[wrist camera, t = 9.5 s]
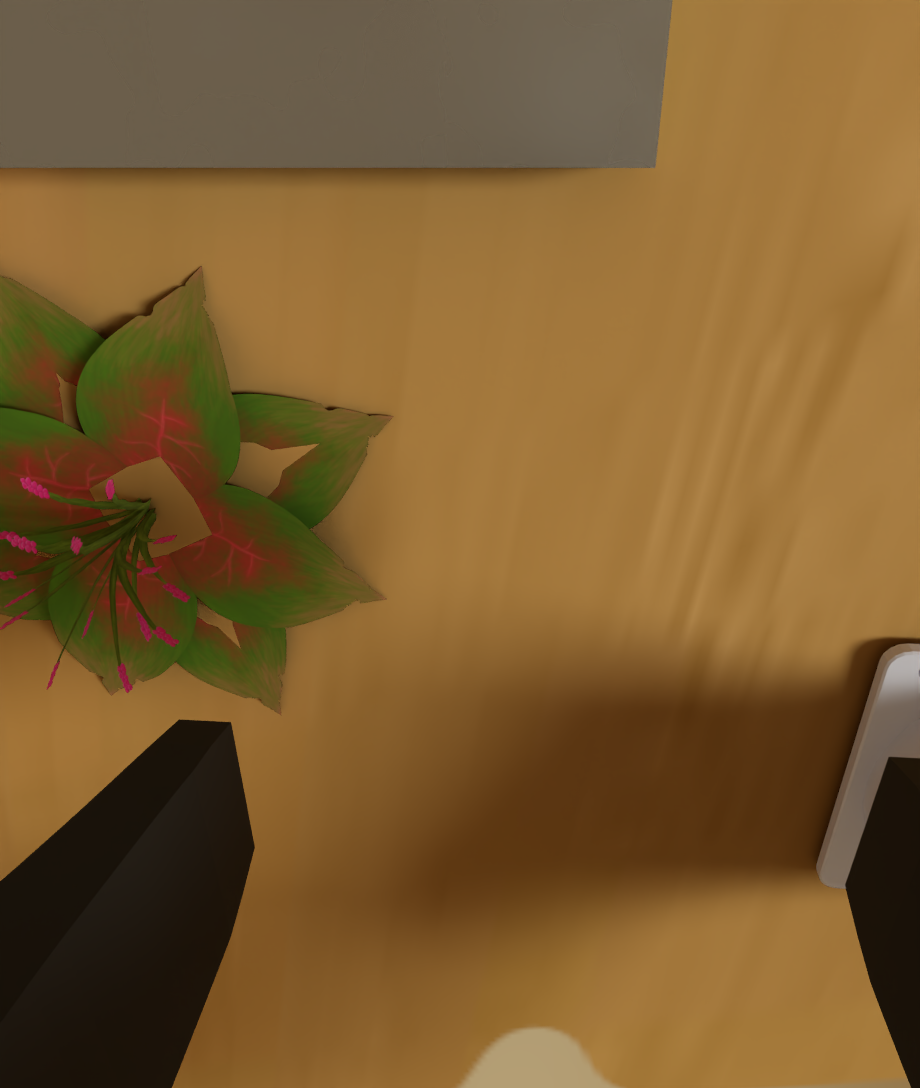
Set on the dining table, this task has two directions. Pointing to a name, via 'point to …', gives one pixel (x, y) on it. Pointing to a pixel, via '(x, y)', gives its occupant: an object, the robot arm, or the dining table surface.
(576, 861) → the dining table surface
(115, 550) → the lily flower
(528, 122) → the gray square-hole plate
